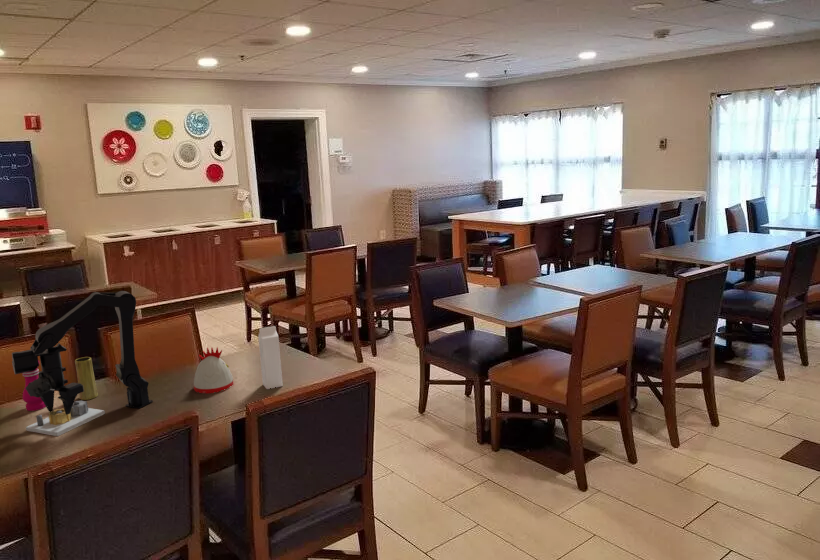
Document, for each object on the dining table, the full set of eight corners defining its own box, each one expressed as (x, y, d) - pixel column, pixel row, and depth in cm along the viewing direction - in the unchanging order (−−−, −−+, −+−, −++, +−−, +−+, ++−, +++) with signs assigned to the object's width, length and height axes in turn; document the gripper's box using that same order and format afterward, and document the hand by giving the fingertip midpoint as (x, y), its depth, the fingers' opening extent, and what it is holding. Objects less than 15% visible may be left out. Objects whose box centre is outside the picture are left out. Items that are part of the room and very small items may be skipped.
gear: (75, 418, 209) (74, 409, 208) (59, 425, 203) (57, 416, 203) (62, 416, 211) (60, 407, 211) (45, 423, 206) (44, 414, 205)
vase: (90, 400, 228) (84, 362, 225) (75, 400, 229) (69, 361, 226) (101, 394, 234) (96, 356, 231) (87, 393, 235) (81, 356, 232)
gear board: (105, 413, 215) (102, 399, 214) (57, 436, 199) (55, 420, 198) (75, 409, 220) (72, 394, 219) (26, 430, 204) (23, 415, 203)
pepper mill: (24, 413, 219) (14, 357, 215) (25, 406, 225) (15, 351, 221) (48, 408, 222) (39, 353, 218) (48, 402, 228) (39, 348, 224)
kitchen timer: (232, 390, 231) (228, 350, 228) (192, 395, 228) (187, 355, 225) (234, 378, 244) (230, 340, 241) (196, 382, 242) (192, 344, 239)
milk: (262, 384, 236) (256, 326, 232) (278, 381, 238) (273, 324, 234) (266, 389, 230) (260, 330, 226) (283, 386, 233) (277, 327, 229)
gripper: (7, 372, 200) (16, 419, 203) (49, 377, 193) (57, 426, 196) (40, 361, 210) (47, 406, 213) (81, 366, 203) (88, 412, 206)
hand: (59, 412), depth 207 cm, fingers open, 7 cm apart
